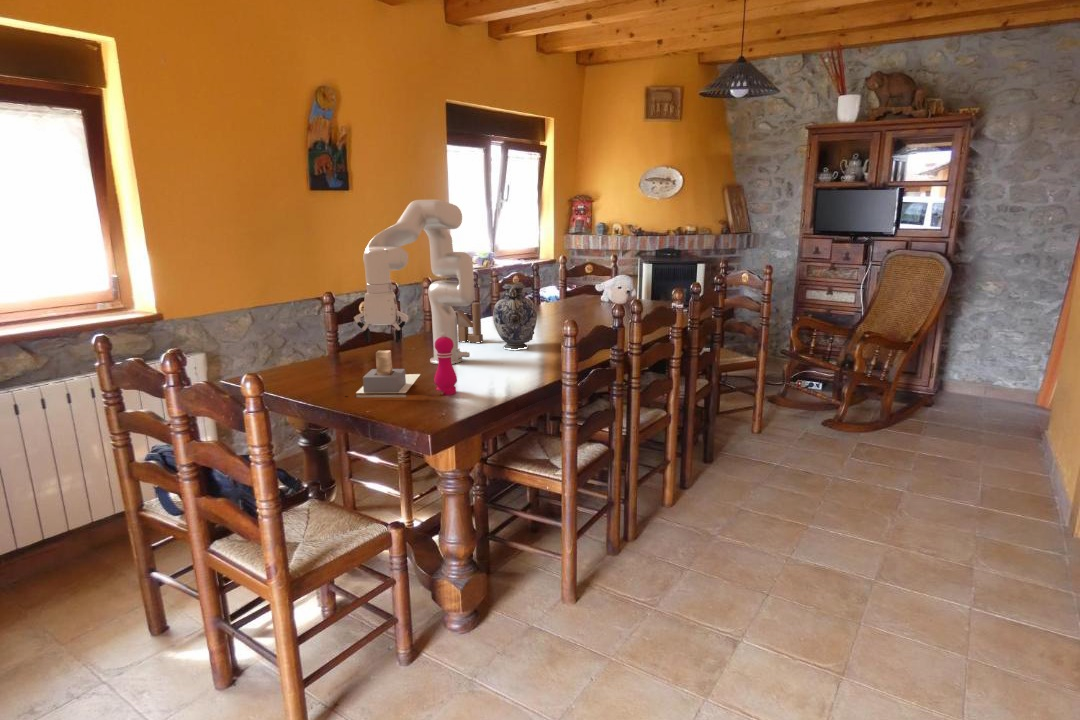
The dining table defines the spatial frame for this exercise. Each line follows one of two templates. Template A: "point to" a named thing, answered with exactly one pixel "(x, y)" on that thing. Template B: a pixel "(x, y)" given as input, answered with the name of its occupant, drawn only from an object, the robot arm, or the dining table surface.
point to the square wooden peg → (384, 362)
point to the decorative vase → (515, 316)
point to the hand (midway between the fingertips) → (383, 341)
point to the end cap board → (386, 383)
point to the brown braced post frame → (470, 325)
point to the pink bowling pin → (445, 366)
